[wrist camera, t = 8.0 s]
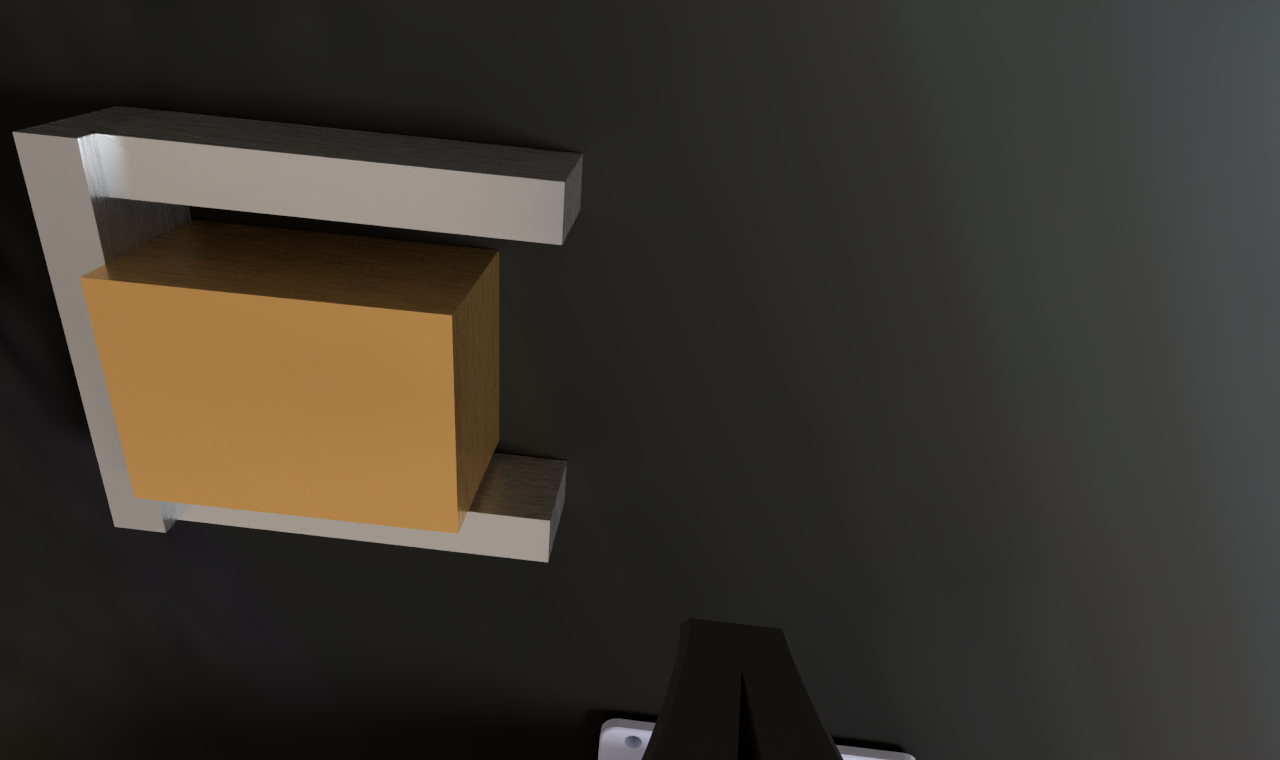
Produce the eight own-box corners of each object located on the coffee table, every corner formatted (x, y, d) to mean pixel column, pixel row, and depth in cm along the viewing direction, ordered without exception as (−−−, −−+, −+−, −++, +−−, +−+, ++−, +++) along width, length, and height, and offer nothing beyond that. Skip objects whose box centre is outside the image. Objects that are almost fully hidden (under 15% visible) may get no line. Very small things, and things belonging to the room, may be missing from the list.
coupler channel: (582, 153, 17) (560, 188, 15) (564, 499, 21) (544, 576, 19) (117, 105, 18) (12, 131, 15) (187, 456, 22) (114, 526, 19)
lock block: (500, 247, 19) (452, 314, 15) (500, 436, 21) (457, 533, 17) (198, 217, 19) (79, 277, 15) (231, 407, 21) (134, 498, 18)
